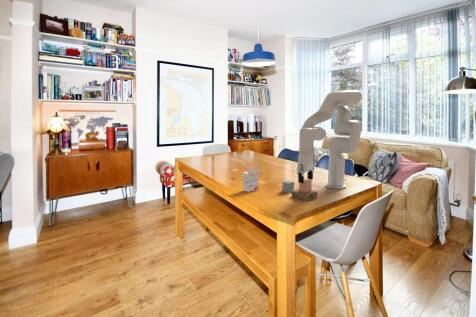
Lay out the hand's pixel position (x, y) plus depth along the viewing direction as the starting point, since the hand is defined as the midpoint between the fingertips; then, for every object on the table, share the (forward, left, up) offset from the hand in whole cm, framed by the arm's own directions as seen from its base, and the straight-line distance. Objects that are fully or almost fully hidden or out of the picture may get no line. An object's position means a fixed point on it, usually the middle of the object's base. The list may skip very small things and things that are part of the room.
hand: (305, 181), depth 141 cm
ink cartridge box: (+12, -31, -9) cm, 34 cm away
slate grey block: (-2, -13, -9) cm, 16 cm away
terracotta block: (0, 0, -6) cm, 6 cm away
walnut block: (+1, 0, -10) cm, 10 cm away
